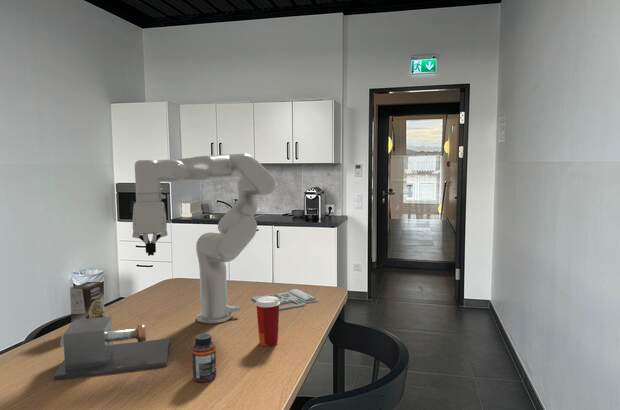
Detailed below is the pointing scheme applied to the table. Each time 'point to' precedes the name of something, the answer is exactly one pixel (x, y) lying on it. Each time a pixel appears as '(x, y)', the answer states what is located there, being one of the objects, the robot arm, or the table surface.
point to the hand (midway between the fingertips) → (151, 254)
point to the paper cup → (268, 320)
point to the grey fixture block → (105, 351)
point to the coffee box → (87, 301)
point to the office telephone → (292, 298)
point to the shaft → (124, 335)
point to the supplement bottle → (204, 358)
